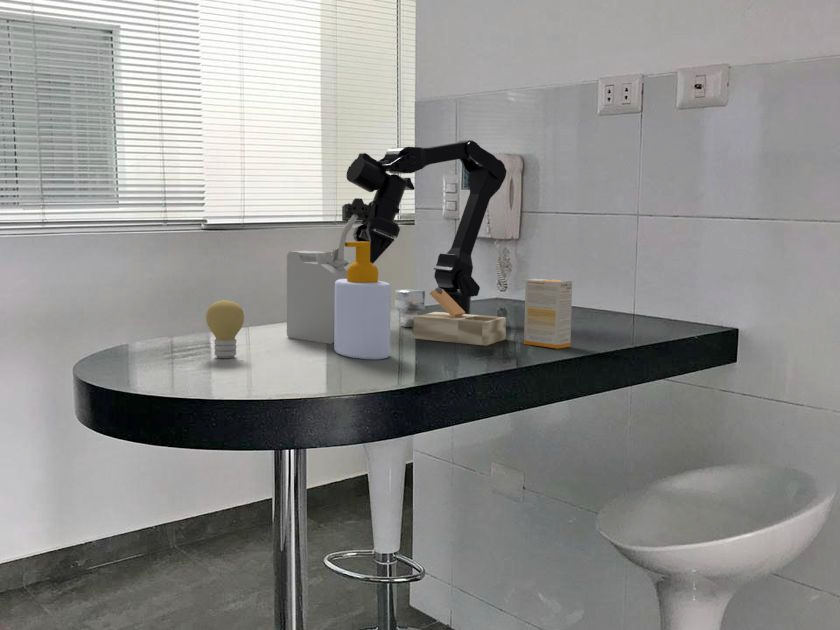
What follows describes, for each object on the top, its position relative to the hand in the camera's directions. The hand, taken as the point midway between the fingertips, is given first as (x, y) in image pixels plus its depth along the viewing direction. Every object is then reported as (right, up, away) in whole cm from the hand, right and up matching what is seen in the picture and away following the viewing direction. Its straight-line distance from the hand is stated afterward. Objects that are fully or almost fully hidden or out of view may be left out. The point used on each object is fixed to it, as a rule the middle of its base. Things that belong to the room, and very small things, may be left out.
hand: (362, 268), depth 191 cm
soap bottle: (+2, -17, -30) cm, 35 cm away
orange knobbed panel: (+18, -8, -9) cm, 21 cm away
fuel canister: (-7, -15, -15) cm, 22 cm away
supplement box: (+37, -16, -16) cm, 44 cm away
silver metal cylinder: (+10, -13, +7) cm, 17 cm away
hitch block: (+20, -15, -10) cm, 27 cm away
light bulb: (-22, -18, -36) cm, 46 cm away
